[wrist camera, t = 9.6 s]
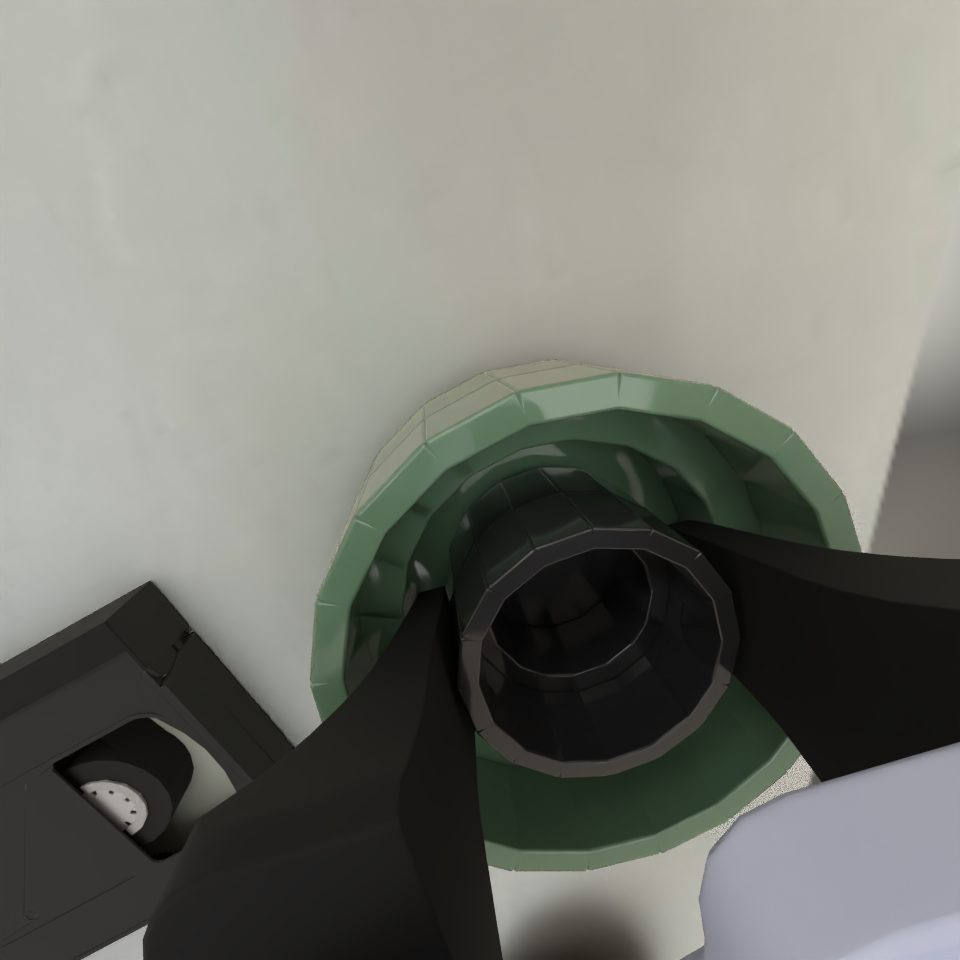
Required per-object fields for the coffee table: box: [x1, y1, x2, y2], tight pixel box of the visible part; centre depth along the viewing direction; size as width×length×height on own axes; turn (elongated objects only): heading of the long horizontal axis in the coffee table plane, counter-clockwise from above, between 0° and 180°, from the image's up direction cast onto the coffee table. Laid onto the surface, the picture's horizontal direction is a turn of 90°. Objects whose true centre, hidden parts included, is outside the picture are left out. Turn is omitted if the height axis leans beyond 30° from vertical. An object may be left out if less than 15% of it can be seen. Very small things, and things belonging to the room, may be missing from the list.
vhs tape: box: [0, 581, 293, 960], centre depth 14 cm, size 14×8×2 cm, turn 118°
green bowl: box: [310, 359, 862, 871], centre depth 12 cm, size 10×10×5 cm
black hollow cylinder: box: [447, 467, 741, 778], centre depth 11 cm, size 5×5×4 cm
